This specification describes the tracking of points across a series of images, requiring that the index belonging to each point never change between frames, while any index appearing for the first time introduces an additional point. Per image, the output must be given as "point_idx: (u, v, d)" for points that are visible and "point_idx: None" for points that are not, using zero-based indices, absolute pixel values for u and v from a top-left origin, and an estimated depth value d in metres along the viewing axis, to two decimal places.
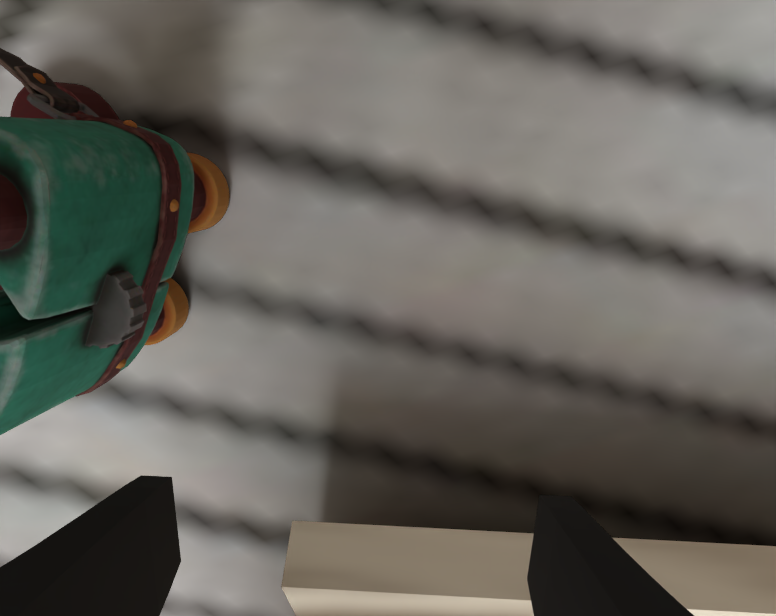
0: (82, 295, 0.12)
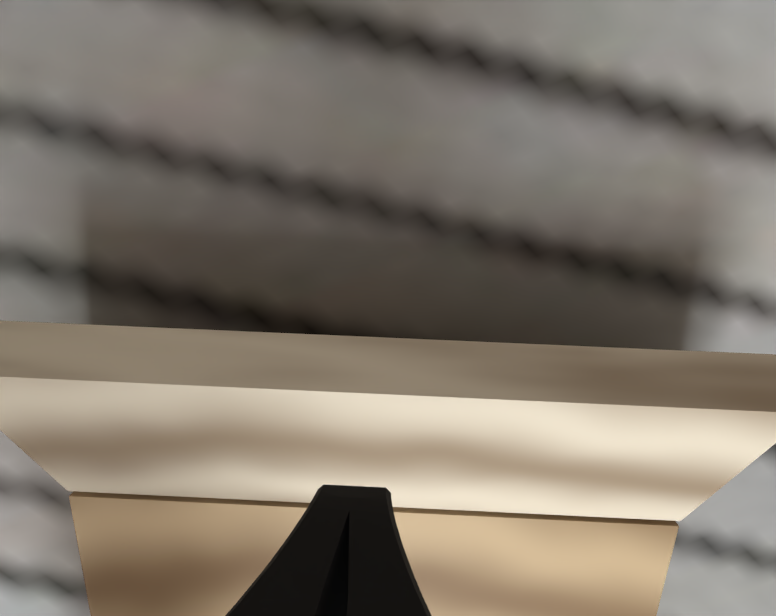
0: None
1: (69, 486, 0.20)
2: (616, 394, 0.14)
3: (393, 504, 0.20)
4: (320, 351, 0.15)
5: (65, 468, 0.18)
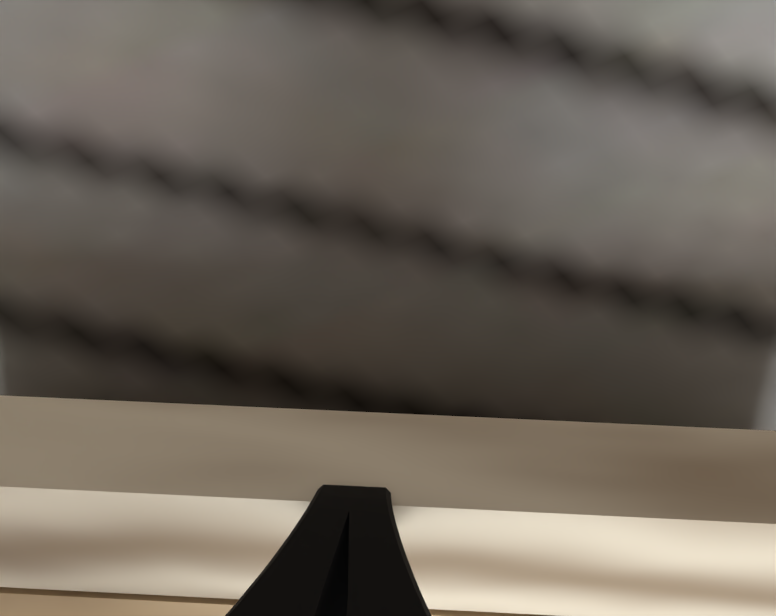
0: None
1: None
2: (707, 504, 0.10)
3: None
4: (286, 434, 0.11)
5: None
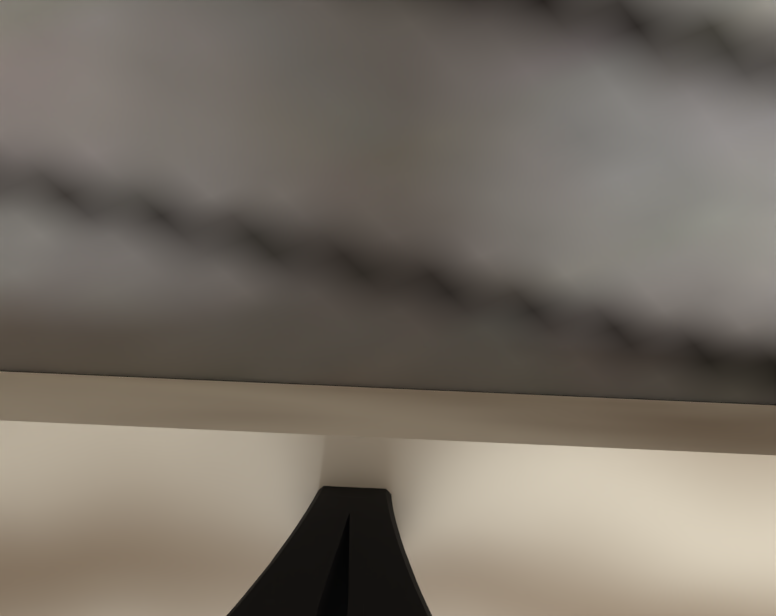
0: None
1: None
2: (717, 443, 0.09)
3: None
4: (284, 397, 0.11)
5: None
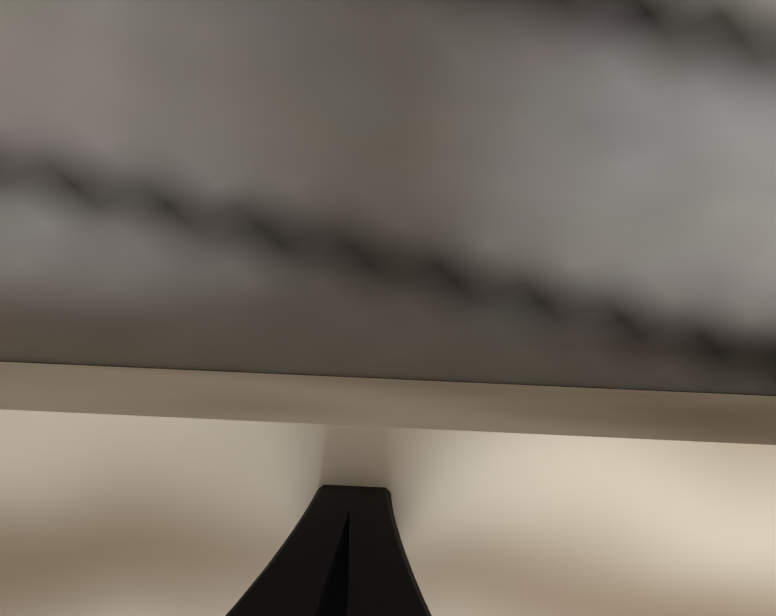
0: None
1: None
2: (726, 433, 0.09)
3: None
4: (291, 388, 0.11)
5: None
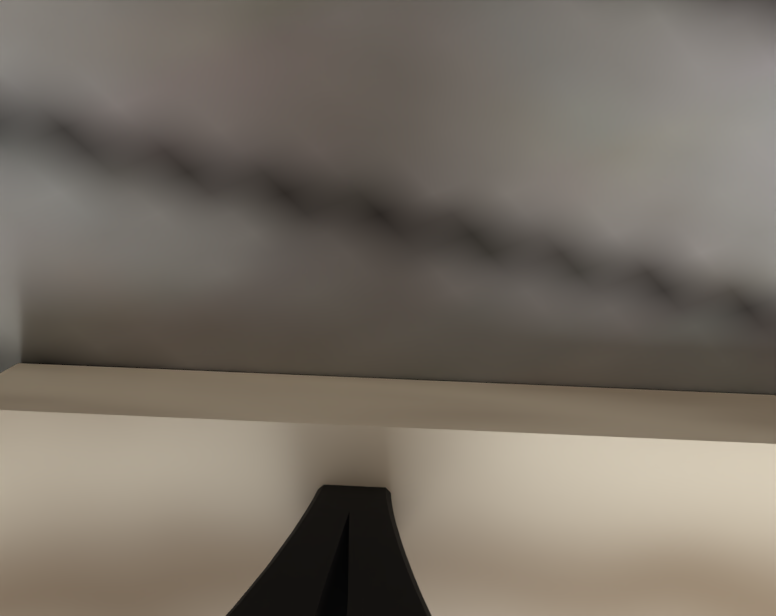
0: None
1: None
2: None
3: None
4: (496, 396, 0.10)
5: None
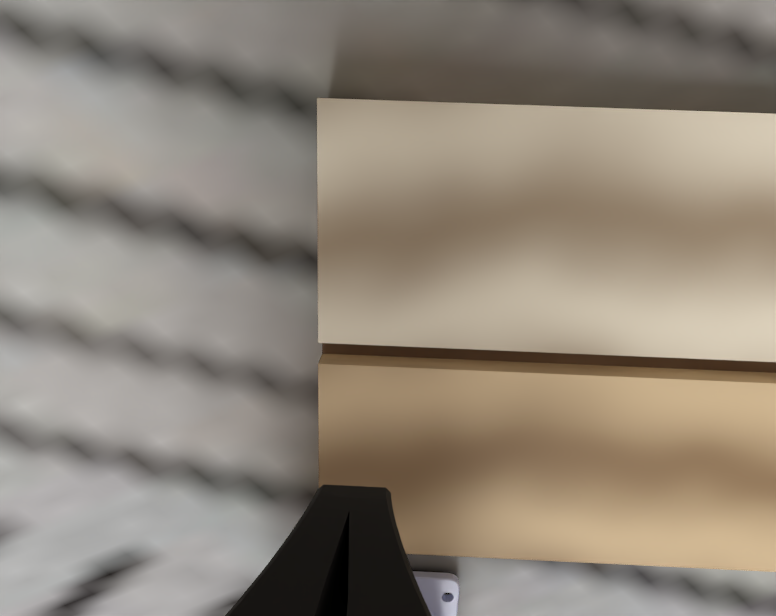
0: None
1: (326, 330, 0.18)
2: None
3: (689, 351, 0.18)
4: None
5: (344, 285, 0.17)
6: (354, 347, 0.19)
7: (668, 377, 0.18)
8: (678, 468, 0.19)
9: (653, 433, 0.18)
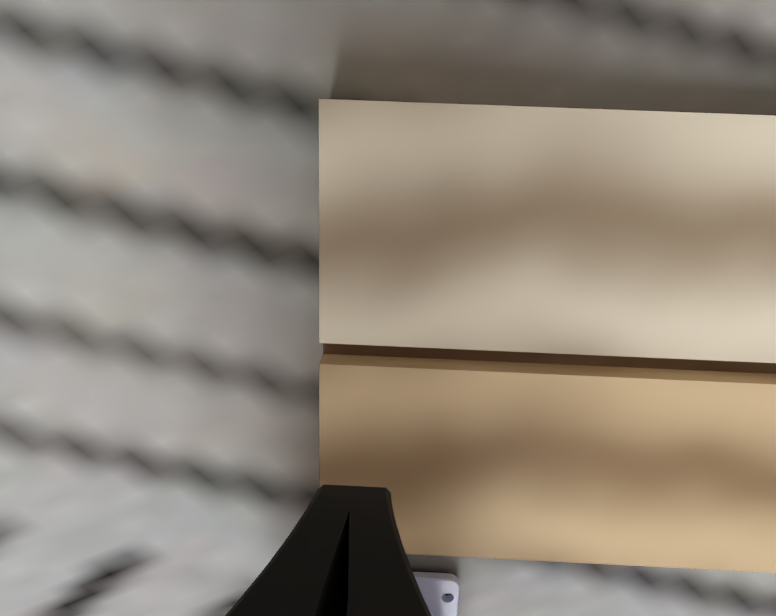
0: None
1: (327, 330, 0.18)
2: None
3: (689, 352, 0.18)
4: None
5: (345, 285, 0.17)
6: (355, 347, 0.19)
7: (668, 378, 0.18)
8: (678, 469, 0.19)
9: (653, 434, 0.18)
